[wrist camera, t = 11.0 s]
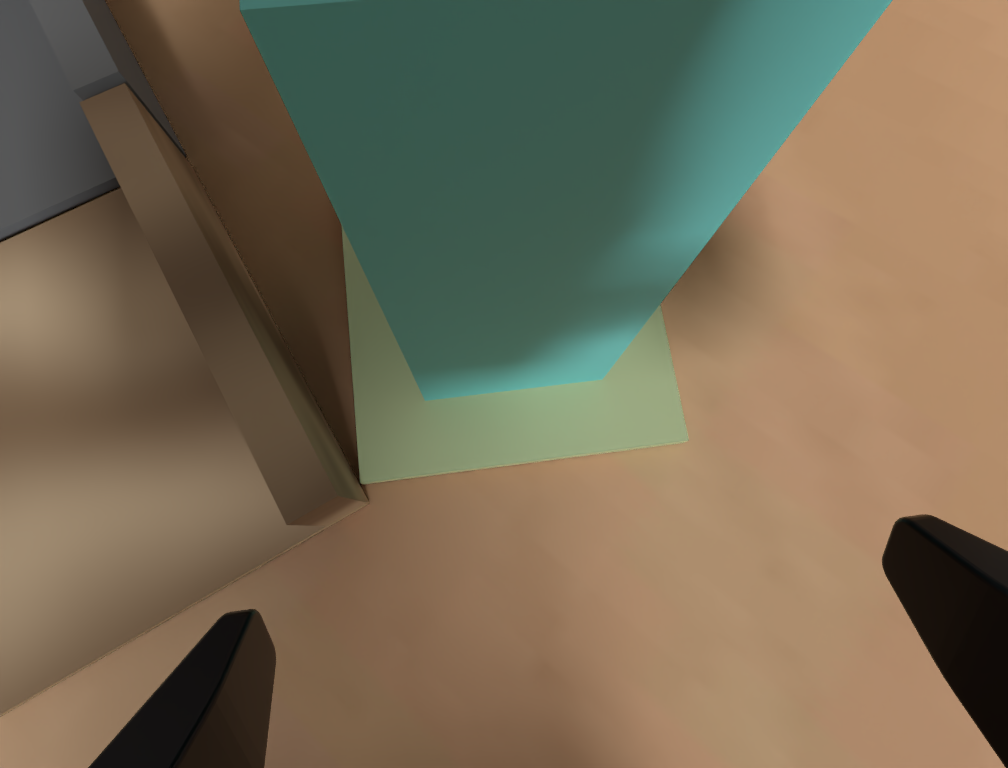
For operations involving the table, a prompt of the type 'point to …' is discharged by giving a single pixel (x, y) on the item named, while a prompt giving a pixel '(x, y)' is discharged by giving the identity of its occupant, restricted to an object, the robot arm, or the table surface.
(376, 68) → the teal block
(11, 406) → the open channel
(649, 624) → the table surface
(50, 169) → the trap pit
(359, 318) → the pad
